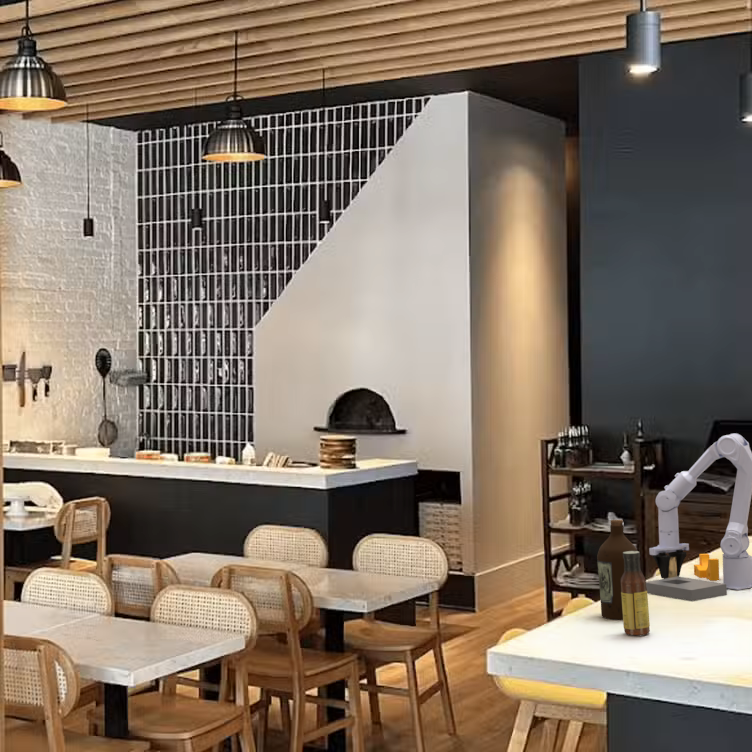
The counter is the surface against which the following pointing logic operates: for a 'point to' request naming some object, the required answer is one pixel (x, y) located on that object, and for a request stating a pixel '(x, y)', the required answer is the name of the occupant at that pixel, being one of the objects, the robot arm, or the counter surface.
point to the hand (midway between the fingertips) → (670, 577)
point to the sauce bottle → (634, 596)
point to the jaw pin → (672, 567)
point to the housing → (686, 588)
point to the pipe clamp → (707, 568)
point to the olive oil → (612, 570)
